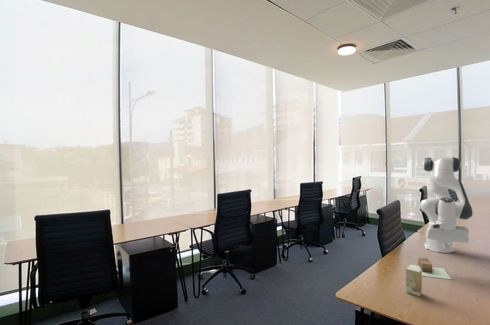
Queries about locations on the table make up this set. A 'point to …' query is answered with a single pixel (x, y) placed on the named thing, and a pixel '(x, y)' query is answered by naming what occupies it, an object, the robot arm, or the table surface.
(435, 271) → the mat
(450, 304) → the table surface
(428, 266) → the block
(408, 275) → the skincare box
